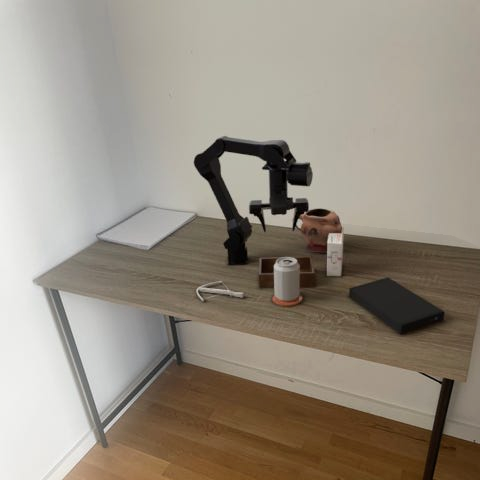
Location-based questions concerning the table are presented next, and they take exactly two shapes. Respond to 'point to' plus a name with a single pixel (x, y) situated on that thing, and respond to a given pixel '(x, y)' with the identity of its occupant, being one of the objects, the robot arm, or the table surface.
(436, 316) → the external hard drive
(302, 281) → the wooden tray
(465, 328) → the table surface
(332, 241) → the ink cartridge box
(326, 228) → the decorative planter
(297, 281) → the can
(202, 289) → the crossbow
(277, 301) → the coaster
